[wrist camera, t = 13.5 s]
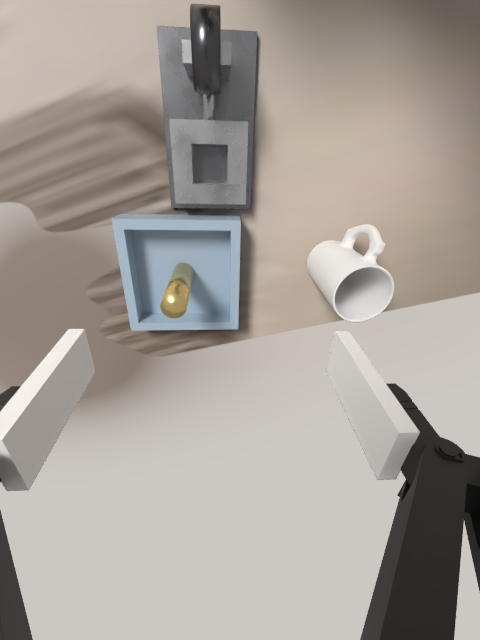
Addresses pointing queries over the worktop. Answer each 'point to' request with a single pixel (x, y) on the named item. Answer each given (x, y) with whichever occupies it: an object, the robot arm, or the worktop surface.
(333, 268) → the mug
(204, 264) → the tray
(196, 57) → the tensioner
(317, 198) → the worktop surface
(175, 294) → the pin
